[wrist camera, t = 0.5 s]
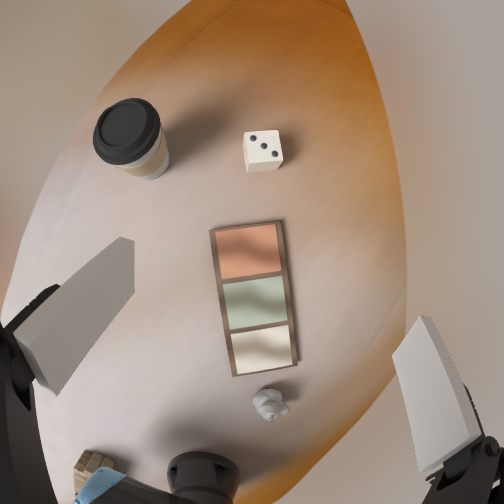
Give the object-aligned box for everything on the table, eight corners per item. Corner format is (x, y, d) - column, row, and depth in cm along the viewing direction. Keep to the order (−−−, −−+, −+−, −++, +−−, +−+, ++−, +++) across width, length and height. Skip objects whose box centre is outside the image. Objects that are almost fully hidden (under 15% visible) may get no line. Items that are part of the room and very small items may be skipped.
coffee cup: (186, 149, 42) (171, 105, 27) (157, 196, 42) (126, 171, 27) (144, 128, 41) (115, 83, 26) (115, 172, 41) (73, 142, 26)
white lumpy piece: (258, 379, 44) (264, 403, 36) (291, 390, 44) (303, 413, 36) (245, 403, 43) (249, 429, 35) (278, 413, 44) (287, 438, 36)
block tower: (86, 443, 41) (84, 499, 39) (73, 463, 33) (75, 516, 31) (117, 458, 42) (109, 511, 40) (107, 481, 33) (102, 529, 32)
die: (277, 169, 44) (283, 160, 39) (246, 172, 43) (249, 163, 38) (272, 141, 43) (277, 129, 38) (242, 144, 43) (244, 132, 38)
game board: (296, 362, 44) (297, 365, 43) (232, 374, 43) (232, 377, 42) (279, 221, 44) (280, 220, 42) (209, 230, 43) (209, 230, 41)
